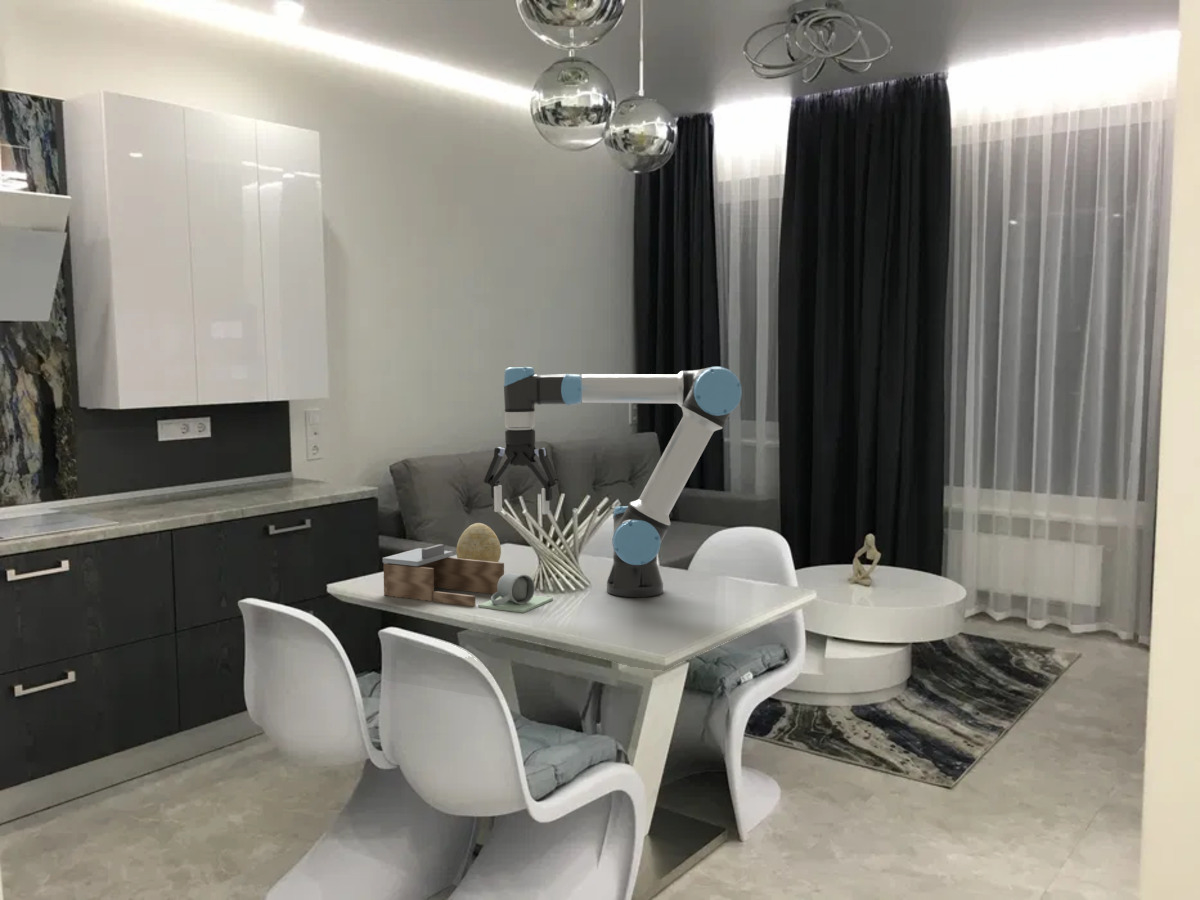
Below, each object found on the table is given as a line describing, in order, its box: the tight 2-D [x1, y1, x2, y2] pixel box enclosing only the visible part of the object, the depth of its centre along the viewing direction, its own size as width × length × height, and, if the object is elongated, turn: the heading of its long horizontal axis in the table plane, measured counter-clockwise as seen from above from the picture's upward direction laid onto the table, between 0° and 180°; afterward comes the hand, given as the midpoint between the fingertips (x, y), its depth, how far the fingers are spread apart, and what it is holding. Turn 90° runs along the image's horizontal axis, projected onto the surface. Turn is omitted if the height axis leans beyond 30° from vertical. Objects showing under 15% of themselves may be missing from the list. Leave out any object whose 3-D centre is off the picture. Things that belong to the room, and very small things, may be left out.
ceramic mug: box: [490, 572, 536, 605], centre depth 251 cm, size 10×8×7 cm
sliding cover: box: [382, 543, 454, 566], centre depth 265 cm, size 11×16×4 cm
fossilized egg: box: [455, 522, 502, 562], centre depth 287 cm, size 13×13×15 cm
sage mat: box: [477, 595, 554, 614], centre depth 253 cm, size 13×15×1 cm
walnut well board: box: [383, 556, 505, 607], centre depth 262 cm, size 28×15×8 cm, turn 65°
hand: (521, 512), depth 252 cm, fingers open, 13 cm apart
